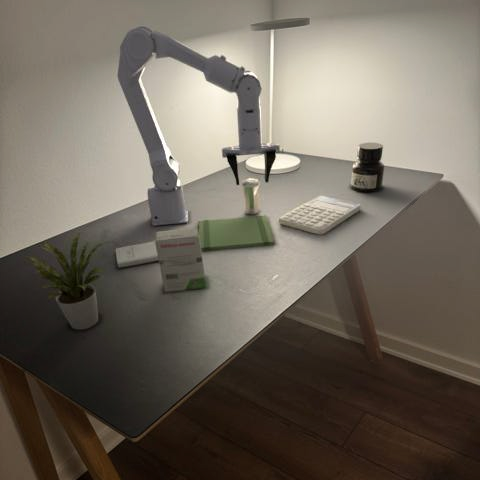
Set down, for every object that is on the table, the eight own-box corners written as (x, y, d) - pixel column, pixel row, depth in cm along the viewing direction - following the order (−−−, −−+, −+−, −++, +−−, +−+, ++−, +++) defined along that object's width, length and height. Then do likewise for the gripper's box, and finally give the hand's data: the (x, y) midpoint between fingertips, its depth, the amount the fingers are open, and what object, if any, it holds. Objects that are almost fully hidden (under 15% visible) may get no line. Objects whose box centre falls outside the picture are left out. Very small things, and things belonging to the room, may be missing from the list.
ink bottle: (343, 188, 134) (346, 146, 127) (361, 180, 138) (365, 139, 131) (371, 195, 128) (376, 152, 121) (388, 186, 132) (394, 144, 125)
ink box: (205, 276, 96) (199, 225, 89) (206, 289, 92) (199, 235, 85) (164, 281, 95) (155, 229, 88) (164, 293, 91) (154, 240, 84)
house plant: (116, 290, 93) (97, 216, 84) (137, 323, 83) (117, 243, 73) (46, 312, 88) (17, 236, 78) (58, 350, 78) (27, 268, 68)
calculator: (277, 223, 116) (277, 217, 114) (319, 199, 127) (320, 193, 126) (321, 236, 108) (321, 229, 107) (362, 209, 120) (362, 202, 119)
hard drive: (173, 259, 103) (118, 269, 101) (167, 244, 110) (116, 253, 107) (171, 252, 102) (117, 262, 100) (166, 238, 109) (115, 247, 106)
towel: (199, 251, 106) (198, 247, 105) (199, 223, 119) (198, 220, 118) (274, 244, 106) (274, 241, 106) (266, 218, 119) (266, 214, 119)
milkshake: (256, 217, 120) (255, 180, 114) (240, 213, 123) (238, 177, 117) (266, 211, 123) (265, 175, 117) (250, 207, 125) (248, 172, 120)
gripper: (220, 134, 106) (225, 190, 114) (281, 129, 107) (281, 185, 115) (219, 127, 112) (224, 181, 120) (277, 122, 112) (277, 176, 120)
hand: (252, 182), depth 118 cm, fingers open, 7 cm apart
